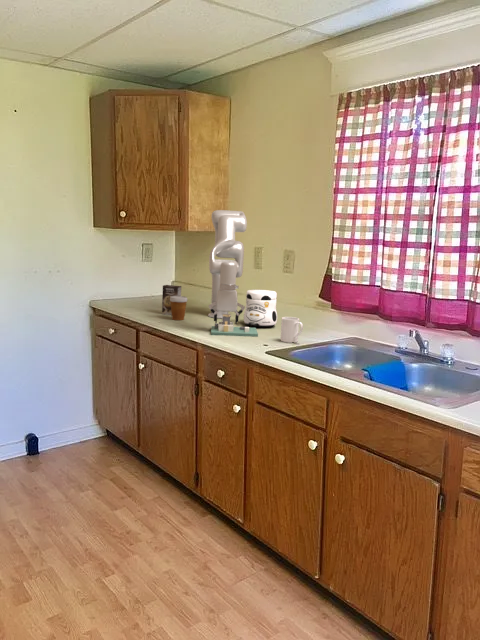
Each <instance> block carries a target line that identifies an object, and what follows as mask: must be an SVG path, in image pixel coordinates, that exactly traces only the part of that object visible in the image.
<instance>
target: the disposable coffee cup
mask: <svg viewBox="0 0 480 640" xmlns="http://www.w3.org/2000/svg"><path fill="white" fill-rule="evenodd" d="M170 302H171V312H172V315H171V320H173V321H184V320H185V315H186V309H187V303H188V297H187V296H183V295H181V296H171V297H170Z"/></svg>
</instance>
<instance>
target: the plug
mask: <svg viewBox="0 0 480 640" xmlns="http://www.w3.org/2000/svg"><path fill="white" fill-rule="evenodd" d="M230 315H231V313H228V314H223V318H222V321H221V322H222V325H230V322H231V317H230Z"/></svg>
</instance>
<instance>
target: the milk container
mask: <svg viewBox="0 0 480 640" xmlns="http://www.w3.org/2000/svg"><path fill="white" fill-rule="evenodd" d="M277 296H278V294H277V292H276V291H275V290H268V289H248V290H246V299H245V303H246V304H245V308H244V311H243V312H244V313H243V322H244V324H246V325H247V326H250V327H253V328H271V327H274V326H275V325H276V324H277V322H278V313H277V298H278V297H277Z"/></svg>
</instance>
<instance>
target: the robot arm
mask: <svg viewBox="0 0 480 640" xmlns="http://www.w3.org/2000/svg"><path fill="white" fill-rule="evenodd" d="M247 221H248V220H247V217H246V215H245V212H244V211H242V210H229V209H228V210H226V209H216V210H214V211H213V212H211V222H212V225H213V228H214V233H215V235H214V245H213V247H212V248H211V249H210V252H209V261H208V262H209V263H208V266H209V267H208V269H209V273H210V274H211V302H210V304H208V308H209V310H210V312H209V313H208V315H207V316H208V317H209V318H213V322H215V323H217V322H218V319H223V314H229V312H230V313H233V312H234V314H235V319H234V323H235V324H236V325H237V324H238V323H239V318H240V317H239V316H240V315H241V314H242V313H243V312H244V311H245V309H246V305H243V304H241V303H239V301H238V291H237V290H236V289H239V285H237V284H236V282H237V279H238V278H240V277H242V276H243V272H244V260H245V259H244V257H245V246H244V243H243V242H241V241H240V240H236V233H244V232H246V231H247V228H248V227H247V226H248V222H247ZM216 257H217V258H220V259H216ZM238 307H239V308H240V310H239V311H238ZM231 317H232V315H231V314H230V318H231ZM215 323H214V324H215Z"/></svg>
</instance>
